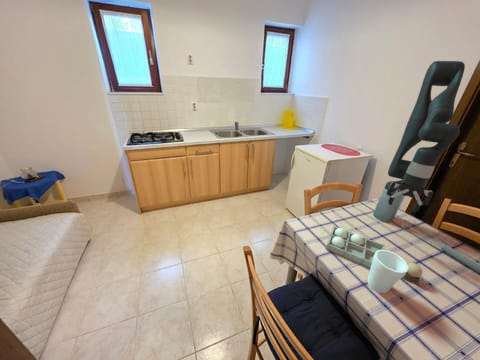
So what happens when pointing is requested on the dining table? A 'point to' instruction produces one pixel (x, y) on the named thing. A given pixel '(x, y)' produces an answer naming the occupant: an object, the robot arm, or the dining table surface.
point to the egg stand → (412, 278)
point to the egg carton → (355, 249)
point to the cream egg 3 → (357, 239)
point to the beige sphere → (414, 270)
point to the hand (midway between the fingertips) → (401, 207)
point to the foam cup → (386, 270)
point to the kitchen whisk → (451, 251)
